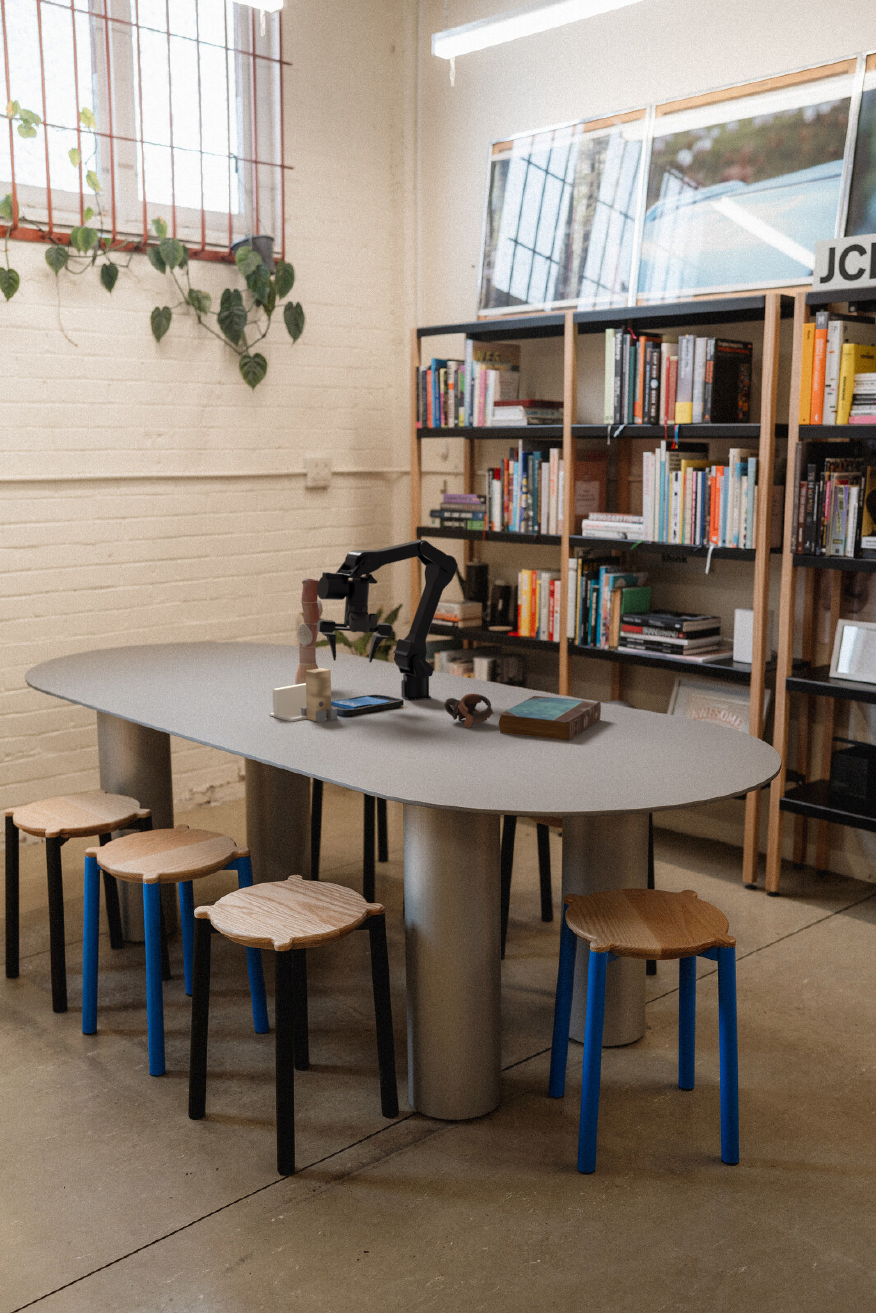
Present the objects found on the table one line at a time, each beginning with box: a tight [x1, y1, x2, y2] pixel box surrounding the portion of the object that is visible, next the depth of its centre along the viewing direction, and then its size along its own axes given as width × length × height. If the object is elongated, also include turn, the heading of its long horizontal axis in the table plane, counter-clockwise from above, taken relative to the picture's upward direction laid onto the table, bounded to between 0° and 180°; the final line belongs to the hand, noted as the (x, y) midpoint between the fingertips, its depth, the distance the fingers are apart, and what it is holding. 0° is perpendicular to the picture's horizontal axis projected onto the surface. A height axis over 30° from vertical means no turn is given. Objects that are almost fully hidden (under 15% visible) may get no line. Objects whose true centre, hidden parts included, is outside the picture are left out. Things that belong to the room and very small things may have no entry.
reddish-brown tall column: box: [294, 577, 324, 685], centre depth 328 cm, size 10×7×30 cm
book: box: [498, 695, 602, 742], centre depth 280 cm, size 23×18×5 cm
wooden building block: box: [306, 667, 332, 722], centre depth 289 cm, size 5×4×12 cm
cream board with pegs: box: [268, 683, 338, 723], centre depth 292 cm, size 14×14×7 cm
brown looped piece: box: [443, 693, 494, 729], centre depth 283 cm, size 12×10×8 cm
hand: (352, 661), depth 300 cm, fingers open, 9 cm apart
